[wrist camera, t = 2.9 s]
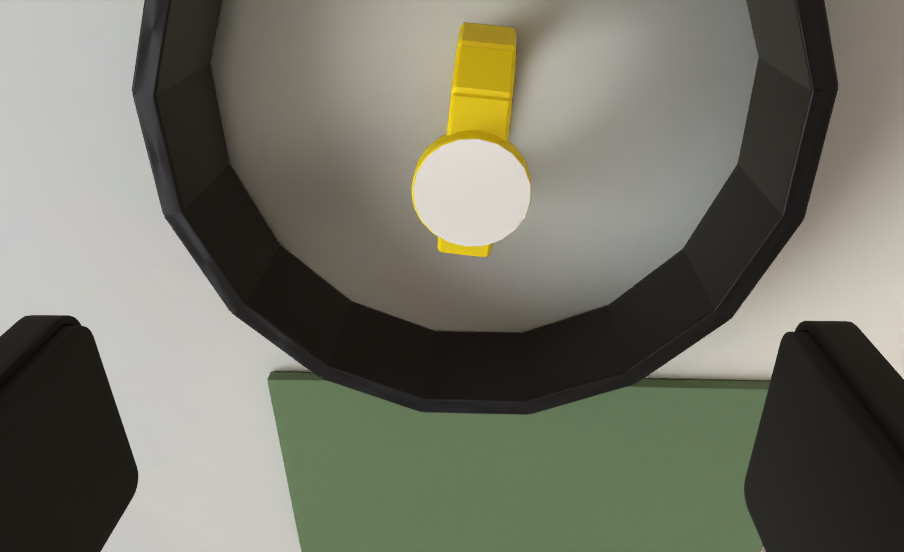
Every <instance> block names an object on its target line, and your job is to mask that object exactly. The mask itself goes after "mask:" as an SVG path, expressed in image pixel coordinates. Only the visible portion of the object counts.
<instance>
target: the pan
mask: <svg viewBox="0 0 904 552" xmlns="http://www.w3.org/2000/svg"><path fill="white" fill-rule="evenodd" d="M221 5H222V0H145V2H144V9H143V16H142V23H141V30H140V37H139V44H138V51H137V58H136V65H135V72H134V79H133V86H132V91H133V98H134V102H135V106H136V109H137V113H138V117H139V121H140V125H141V129H142V133H143V137H144V141H145V145H146V149H147V152H148V156H149V160H150V164H151V168H152V172H153V176H154V180H155V184H156V188H157V192H158V195H159V199H160V203H161V207H162V211H163V214H164V215H165V218H166V220H167V221H168V223H169V224H170V225H171V227H172V228H173V230H174V231H175V233H176V234H177V236H178V237H179V238H180V240H181V241H182V243H183V244H184V246H185V247H186V248H187V250H188V251H189V253H190V254H191V256H192V257H193V259H194V260H195V261H196V263H197V264H198V266H199V267H200V269H201V270H202V271H203V273H204V274H205V276H206V277H207V279H208V280H209V282H210V283H211V284H212V286H213V287H214V289H215V290H216V292H217V293H218V295H219V296H220V297H221V299H222V300H223V302H224V303H225V305H226V306H227V307H228V309H229V310H230V311H231V312H232V313H233V314H234V315H235V316H236V317H238V318H239V319H241V320H242V321H243V322H245V323H246V324H247V325H249V326H250V327H251V328H253V329H254V330H256V331H257V332H258V333H260V334H261V335H262V336H264V337H265V338H266V339H268V340H269V341H270V342H272V343H273V344H275V345H276V346H277V347H279V348H280V349H281V350H283V351H284V352H285V353H287V354H288V355H289V356H291V357H292V358H294V359H295V360H296V361H298V362H299V363H300V364H302V365H303V366H304V367H306V368H307V369H309V370H310V371H311V372H313V373H314V374H315V375H317V376H318V377H321V379H323V380H326V381H329V382H332V383H335V384H338V385H341V386H344V387H347V388H350V389H353V390H356V391H359V392H362V393H365V394H368V395H371V396H374V397H377V398H380V399H383V400H386V401H389V402H392V403H395V404H398V405H401V406H404V407H407V408H410V409H413V410H416V411H419V412H424V413H467V414H512V415H529V414H534V413H538V412H541V411H545V410H548V409H551V408H555V407H558V406H562V405H565V404H569V403H572V402H576V401H579V400H583V399H586V398H590V397H593V396H596V395H600V394H603V393H607V392H610V391H614V390H617V389H621V388H624V387H628V386H631V385H634V383H635V384H636V383H638V382H639V381H641V380H642V379H644V378H645V377H646V376H648V375H649V374H651V373H652V372H654V371H655V370H657V369H658V368H660V367H661V366H663V365H664V364H666V363H667V362H668V361H670V360H671V359H673V358H674V357H676V356H677V355H679V354H680V353H682V352H683V351H685V350H686V349H688V348H689V347H690V346H692V345H693V344H695V343H696V342H698V341H699V340H701V339H702V338H704V337H705V336H707V335H708V334H710V333H711V332H712V331H714V330H715V329H717V328H718V327H720V326H721V325H723V324H724V323H726V322H727V321H729V319H731V318H732V317H733V316H734V314H735V313H736V312H737V310H738V309H739V307H740V306H741V305H742V303H743V302H744V301H745V299H746V298H747V296H748V295H749V294H750V292H751V291H752V290H753V288H754V287H755V286H756V284H757V283H758V281H759V280H760V279H761V277H762V276H763V275H764V273H765V272H766V270H767V269H768V268H769V266H770V265H771V264H772V262H773V261H774V260H775V258H776V257H777V255H778V254H779V253H780V251H781V250H782V249H783V247H784V246H785V244H786V243H787V242H788V240H789V239H790V238H791V236H792V235H793V234H794V232H795V231H796V229H797V228H798V227H799V225H800V224H801V223H802V221H803V219H804V217H805V214H806V210H807V206H808V202H809V198H810V194H811V191H812V187H813V183H814V179H815V175H816V171H817V168H818V164H819V160H820V156H821V152H822V148H823V145H824V141H825V137H826V133H827V129H828V125H829V122H830V118H831V114H832V110H833V106H834V102H835V98H836V95H837V91H838V80H837V74H836V68H835V62H834V56H833V50H832V44H831V38H830V31H829V25H828V19H827V13H826V7H825V1H824V0H747V5H748V10H749V14H750V19H751V24H752V28H753V33H754V38H755V42H756V47H757V51H758V56H759V60H758V65H757V70H756V75H755V80H754V85H753V90H752V95H751V100H750V105H749V110H748V115H747V120H746V125H745V130H744V135H743V141H742V146H741V151H740V156H739V161H738V164H737V166H736V167H735V169H734V171H733V172H732V174H731V175H730V177H729V178H728V180H727V181H726V183H725V185H724V186H723V188H722V189H721V191H720V192H719V194H718V195H717V197H716V199H715V200H714V202H713V203H712V205H711V206H710V208H709V209H708V211H707V212H706V214H705V216H704V217H703V219H702V220H701V222H700V223H699V225H698V226H697V228H696V230H695V231H694V233H693V234H692V236H691V237H690V239H689V240H688V242H687V244H686V245H685V247H684V248H683V249H682V250H681V251H680V252H678V253H677V254H676V255H674V256H673V257H672V258H670V259H669V260H668V261H666V262H665V263H664V264H662V265H661V266H660V267H659V268H657V269H656V270H655V271H653V272H652V273H651V274H649V275H648V276H647V277H645V278H644V279H643V280H641V281H640V282H639V283H637V284H636V285H635V286H633V287H632V288H631V289H629V290H628V291H627V292H625V293H624V294H623V295H621V296H620V297H619V298H617V299H616V300H615V301H613V302H612V303H611V304H609V305H608V306H605V307H602V308H599V309H595V310H592V311H589V312H586V313H583V314H580V315H577V316H574V317H571V318H568V319H564V320H561V321H558V322H555V323H552V324H549V325H546V326H543V327H540V328H536V329H533V330H530V331H527V332H524V333H492V332H435V331H432V330H429V329H426V328H424V327H421V326H418V325H415V324H412V323H409V322H407V321H404V320H401V319H398V318H395V317H392V316H390V315H387V314H384V313H381V312H378V311H376V310H373V309H370V308H367V307H364V306H361V305H359V304H356V303H353V302H351V301H349V300H348V299H347V298H345V297H344V296H343V295H342V294H340V293H339V292H338V291H337V290H335V289H334V288H333V287H332V286H330V285H329V284H328V283H327V282H325V281H324V280H323V279H322V278H320V277H319V276H318V275H317V274H315V273H314V272H313V271H311V270H310V269H309V268H308V267H306V266H305V265H304V264H303V263H301V262H300V261H299V260H298V259H296V258H295V257H294V256H293V255H291V254H290V253H289V252H288V251H286V250H285V249H284V248H283V247H281V246H280V245H279V243H278V241H277V240H276V238H275V237H274V235H273V233H272V232H271V230H270V228H269V227H268V225H267V224H266V222H265V220H264V219H263V217H262V216H261V214H260V212H259V211H258V209H257V208H256V206H255V204H254V203H253V201H252V199H251V198H250V196H249V195H248V193H247V191H246V190H245V188H244V187H243V185H242V183H241V182H240V180H239V179H238V177H237V175H236V174H235V172H234V170H233V169H232V167H231V166H230V164H229V159H228V154H227V149H226V144H225V139H224V133H223V128H222V123H221V118H220V113H219V108H218V103H217V97H216V92H215V87H214V82H213V77H212V72H211V67H210V61H211V56H212V51H213V46H214V41H215V36H216V31H217V26H218V21H219V15H220V10H221Z"/></svg>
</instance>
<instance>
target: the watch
mask: <svg viewBox="0 0 904 552" xmlns="http://www.w3.org/2000/svg"><path fill="white" fill-rule="evenodd" d="M515 62H516V31H515V30H514V29H513V28H512V27H503V26H494V25H485V24H475V23H466V22H465V23H464V24H462V25H461V27H460V32H459V38H458V44H457V51H456V59H455V67H454V75H453V82H452V92H451V99H450V109H449V118H448V127H447V134H446V135H443V136H441V137H440V138H439V139H437V140H436V141H435V142H433V143H432V144H431V145H430V146H428V147H427V148H426V150H425V151H424V153H423V154H422V156H421V158H420V159H419V161H418V163H417V166H416V169H415V173H414V177H413V181H412V186H411V192H412V202H413V206H414V208H415V210H416V212H417V215H418V217H419V219H420V221H421V222H422V223H423V224H424V225H425V226H426V227H427V228H428V229H429V230H430V232H431V233H433V234H434V235H436V236H438V245H437V247H438V250H439V251H440V252H443V253H452V254H461V255H470V256H480V257H487V256H488V255H490V253H491V249H492V244H493V243H494V242H498V241H500V240H502V239H503V238H505V237H506V236H508V235H509V234H511V233H512V232H513V231H515V229H516V228H517V227H518V226H519V224H520V223H521V222H522V221H523V219H524V218H525V216H526V214H527V211H528V208H529V205H530V202H531V180H530V173H529V170H528V167H527V165H526V162H525V159H524V158H523V156H522V155H521V154H520V152H519V151H518V150H517V149H516V148H515V146H514V145H513V144H512V143H510V142H509V141H508V135H509V126H510V117H511V109H512V102H511V101H512V97H513V87H514V75H515Z"/></svg>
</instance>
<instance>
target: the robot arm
mask: <svg viewBox="0 0 904 552" xmlns="http://www.w3.org/2000/svg"><path fill="white" fill-rule="evenodd" d="M137 484H138V470H137V466H136V463H135V460H134V457H133V454H132V451H131V448H130V445H129V442H128V439H127V436H126V433H125V430H124V427H123V424H122V421H121V418H120V415H119V412H118V409H117V406H116V403H115V400H114V397H113V394H112V391H111V388H110V385H109V382H108V379H107V376H106V373H105V370H104V367H103V364H102V361H101V358H100V355H99V352H98V349H97V346H96V343H95V340H94V337H93V335H92V333H91V331H90V330H89V329H88V328H87V327H84V326H81V324H80V322H79V321H78V320H77V319H76V318H74V317H72V316H57V315H31V316H25V317H23V318H22V319H20V320H19V321H17V322H16V323H15V324H14V325H13V326H12V327H11V328H10V329H8V330H7V331H6V332H5V333H4V334H3V335H2V336H1V337H0V552H101V550H102V548H103V546H104V545H105V543H106V541H107V540H108V538H109V536H110V535H111V533H112V531H113V530H114V528H115V526H116V525H117V523H118V521H119V520H120V518H121V516H122V515H123V513H124V511H125V510H126V508H127V506H128V505H129V503H130V501H131V499H132V498H133V496H134V494H135V491H136V488H137ZM744 495H745V501H746V505H747V508H748V511H749V513H750V516H751V518H752V520H753V523H754V525H755V527H756V530H757V532H758V534H759V537H760V539H761V541H762V544H763V546H764V548H765V551H766V552H904V379H903V378H902V377H901V376H900V375H899V374H898V373H897V371H896V370H895V369H894V368H893V367H892V366H891V365H890V363H889V362H888V361H887V360H886V359H885V358H884V357H883V355H882V354H881V353H880V352H879V351H878V350H877V349H876V347H875V346H874V345H873V344H872V343H871V342H870V341H869V339H868V338H867V337H866V336H865V335H864V334H863V333H862V331H861V330H860V329H859V328H858V327H857V326H856V325H855V324H853V323H852V322H847V321H804V322H801V323H800V324H799V325H798V326H797V328H796V330H795V332H787V333H785V335H784V336H783V337H782V340H781V343H780V347H779V350H778V354H777V358H776V362H775V366H774V370H773V373H772V377H771V381H770V385H769V389H768V393H767V396H766V400H765V404H764V408H763V412H762V416H761V420H760V423H759V427H758V431H757V435H756V439H755V443H754V446H753V450H752V454H751V458H750V462H749V466H748V469H747V473H746V477H745V482H744Z"/></svg>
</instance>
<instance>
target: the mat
mask: <svg viewBox="0 0 904 552" xmlns="http://www.w3.org/2000/svg"><path fill="white" fill-rule="evenodd" d="M267 380H268V385H269V390H270V395H271V400H272V405H273V410H274V415H275V420H276V425H277V431H278V436H279V441H280V446H281V451H282V456H283V461H284V466H285V471H286V476H287V481H288V486H289V491H290V496H291V501H292V506H293V511H294V516H295V521H296V526H297V531H298V536H299V541H300V546H301V551H302V552H761V549H762V546H763V544H762V541H761V539H760V537H759V534H758V532H757V530H756V527H755V525H754V523H753V520H752V518H751V516H750V513H749V511H748V508H747V505H746V501H745V495H744V482H745V477H746V473H747V469H748V466H749V462H750V458H751V454H752V450H753V446H754V443H755V439H756V435H757V431H758V427H759V423H760V420H761V416H762V412H763V408H764V404H765V400H766V396H767V393H768V389H769V385H770V381H722V380H669V379H642V380H641V381H639V382H638V383H636V384H635V383H634V385H631V386H628V387H624V388H621V389H617V390H614V391H610V392H607V393H603V394H600V395H596V396H593V397H590V398H586V399H583V400H579V401H576V402H572V403H569V404H565V405H562V406H558V407H555V408H551V409H548V410H545V411H541V412H538V413H534V414H529V415H512V414H467V413H424V412H419V411H416V410H413V409H410V408H407V407H404V406H401V405H398V404H395V403H392V402H389V401H386V400H383V399H380V398H377V397H374V396H371V395H368V394H365V393H362V392H359V391H356V390H353V389H350V388H347V387H344V386H341V385H338V384H335V383H332V382H329V381H326V380H323V379H321V377H318V376H317V375H315V374H314V373H303V372H271V373H270V375H269V377H268V379H267Z"/></svg>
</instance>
